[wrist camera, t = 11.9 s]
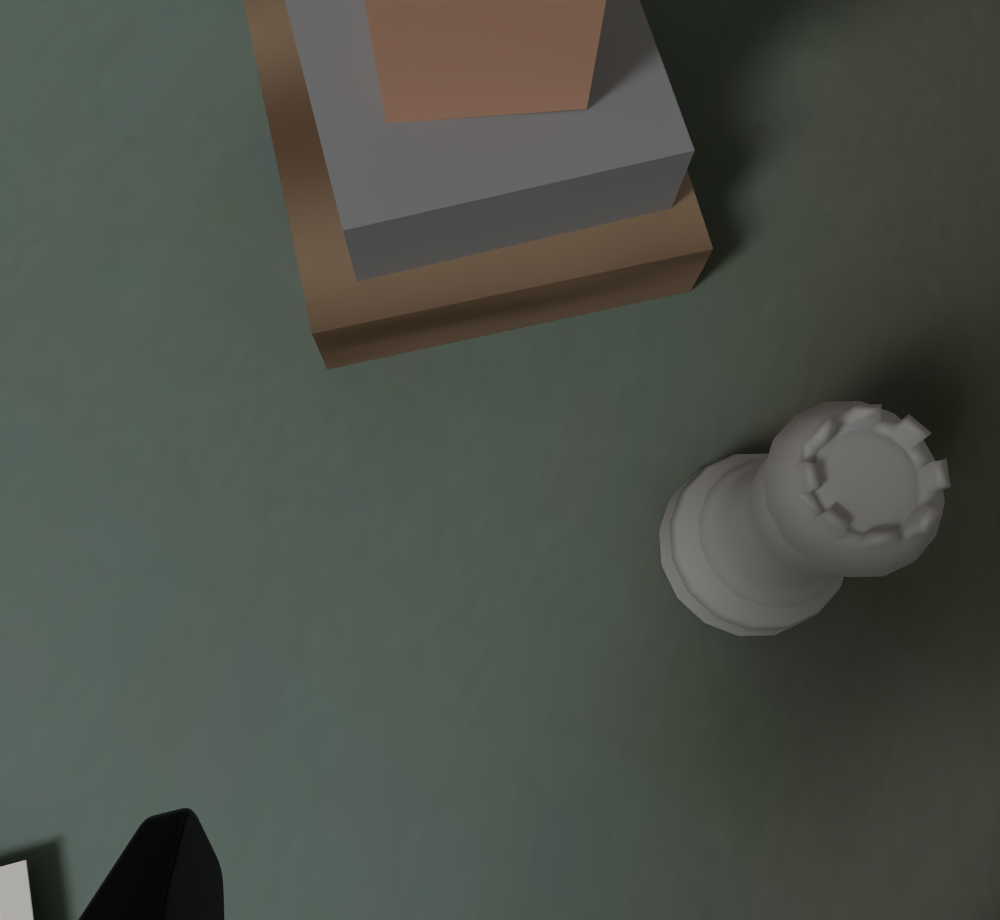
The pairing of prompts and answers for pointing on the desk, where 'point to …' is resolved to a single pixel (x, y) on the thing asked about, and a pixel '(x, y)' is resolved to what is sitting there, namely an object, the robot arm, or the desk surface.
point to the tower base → (458, 282)
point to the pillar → (483, 56)
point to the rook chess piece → (802, 517)
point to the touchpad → (15, 892)
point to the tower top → (487, 149)
